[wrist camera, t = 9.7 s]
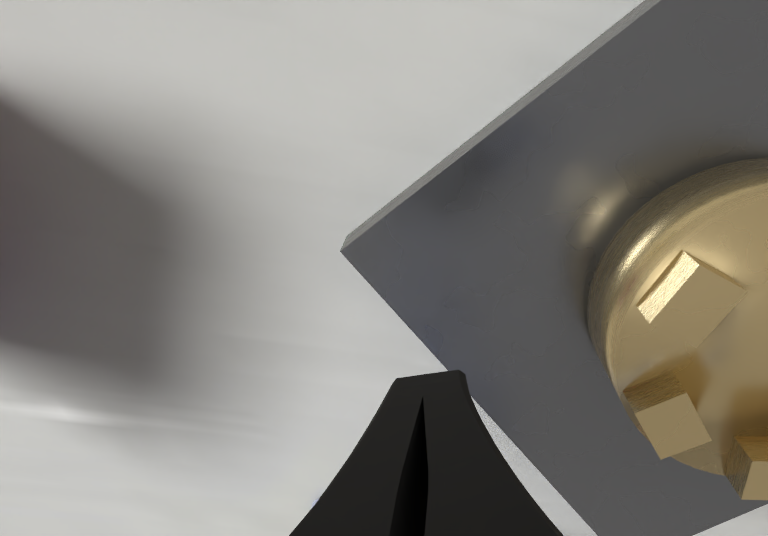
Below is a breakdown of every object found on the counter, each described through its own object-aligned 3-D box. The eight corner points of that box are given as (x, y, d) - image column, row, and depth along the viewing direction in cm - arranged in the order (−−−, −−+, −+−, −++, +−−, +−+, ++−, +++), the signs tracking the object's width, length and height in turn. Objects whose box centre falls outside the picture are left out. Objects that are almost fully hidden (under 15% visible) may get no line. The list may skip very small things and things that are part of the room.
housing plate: (1093, 318, 18) (1156, 345, 16) (613, 533, 24) (625, 568, 22) (874, -182, 13) (933, -212, 12) (346, 235, 19) (338, 253, 17)
